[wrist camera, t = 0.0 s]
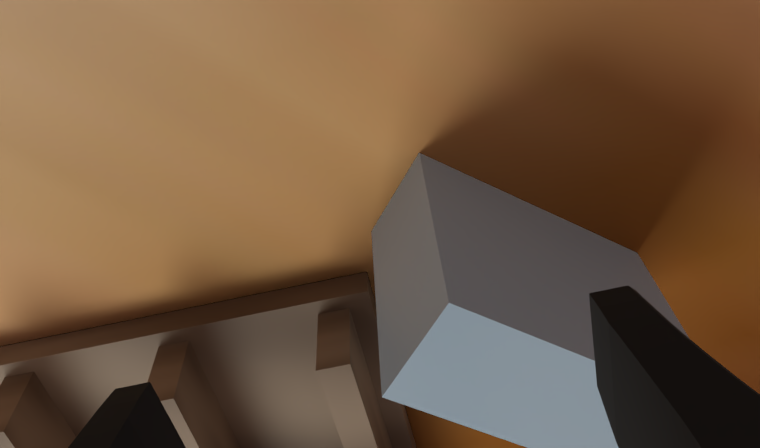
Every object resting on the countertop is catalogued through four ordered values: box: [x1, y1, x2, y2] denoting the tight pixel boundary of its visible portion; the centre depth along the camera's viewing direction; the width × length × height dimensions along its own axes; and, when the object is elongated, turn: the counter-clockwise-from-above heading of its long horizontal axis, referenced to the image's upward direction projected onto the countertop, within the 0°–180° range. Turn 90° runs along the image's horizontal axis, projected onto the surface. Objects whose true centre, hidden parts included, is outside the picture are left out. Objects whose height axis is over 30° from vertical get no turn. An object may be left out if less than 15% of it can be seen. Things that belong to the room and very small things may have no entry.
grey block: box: [371, 153, 689, 448], centre depth 20 cm, size 8×3×7 cm, turn 62°
